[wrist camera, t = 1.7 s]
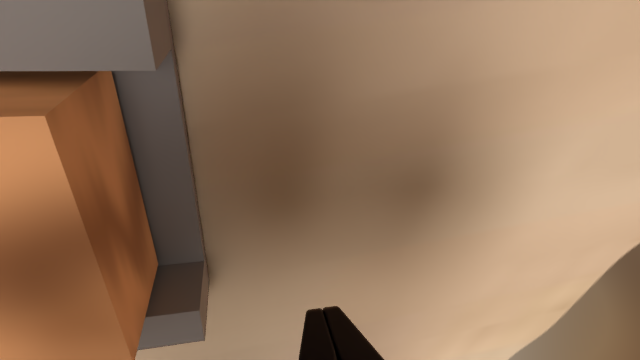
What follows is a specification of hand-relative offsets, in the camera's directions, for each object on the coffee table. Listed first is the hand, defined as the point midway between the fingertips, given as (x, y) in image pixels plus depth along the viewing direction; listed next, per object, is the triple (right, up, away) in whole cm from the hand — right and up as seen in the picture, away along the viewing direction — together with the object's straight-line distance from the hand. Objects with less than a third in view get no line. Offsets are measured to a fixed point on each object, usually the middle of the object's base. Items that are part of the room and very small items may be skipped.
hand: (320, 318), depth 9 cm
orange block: (-10, +4, +5) cm, 12 cm away
